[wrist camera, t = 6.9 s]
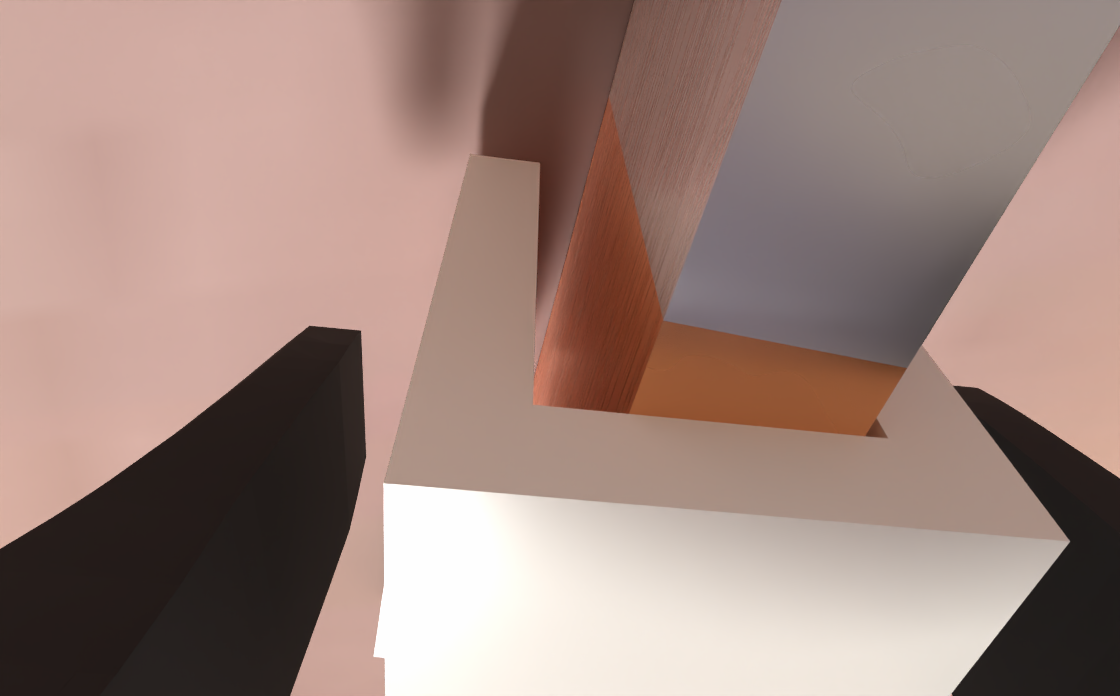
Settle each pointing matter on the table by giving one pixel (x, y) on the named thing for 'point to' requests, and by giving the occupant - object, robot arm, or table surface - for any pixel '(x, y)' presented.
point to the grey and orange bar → (797, 199)
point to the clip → (676, 520)
